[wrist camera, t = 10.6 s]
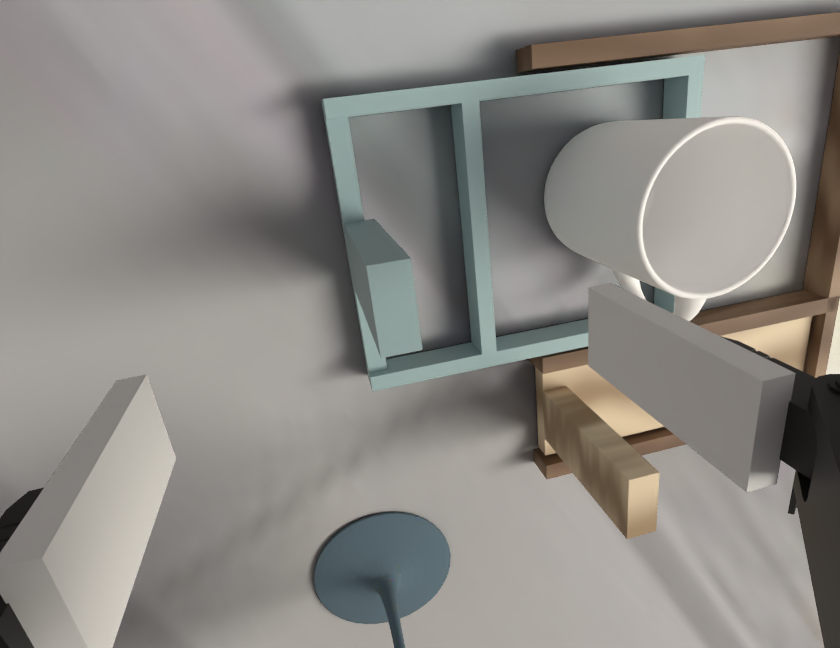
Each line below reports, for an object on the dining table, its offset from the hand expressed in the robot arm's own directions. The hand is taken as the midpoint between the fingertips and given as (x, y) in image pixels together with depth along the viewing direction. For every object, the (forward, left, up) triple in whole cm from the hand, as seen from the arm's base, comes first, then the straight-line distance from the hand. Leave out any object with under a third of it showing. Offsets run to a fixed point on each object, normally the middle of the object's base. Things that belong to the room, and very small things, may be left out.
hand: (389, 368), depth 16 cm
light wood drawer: (+14, +23, -18) cm, 33 cm away
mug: (+1, +18, -18) cm, 26 cm away
